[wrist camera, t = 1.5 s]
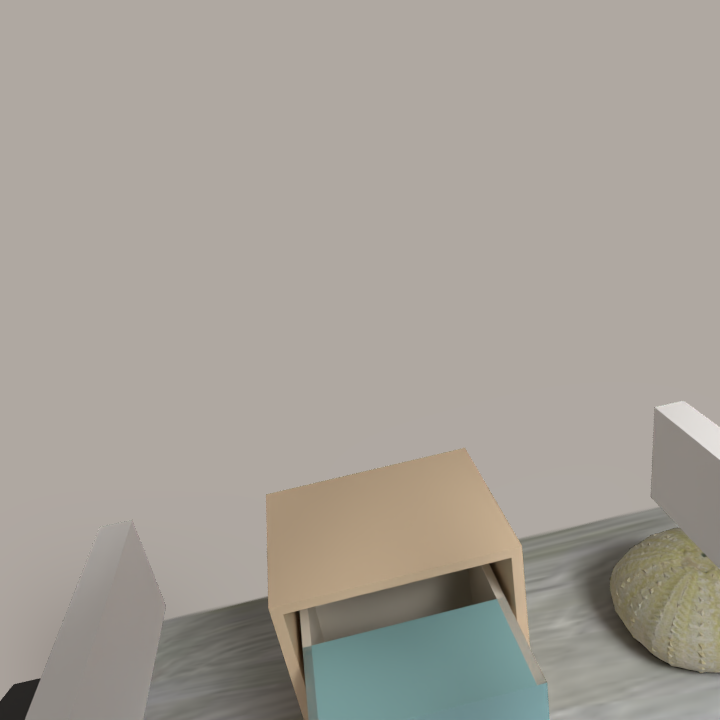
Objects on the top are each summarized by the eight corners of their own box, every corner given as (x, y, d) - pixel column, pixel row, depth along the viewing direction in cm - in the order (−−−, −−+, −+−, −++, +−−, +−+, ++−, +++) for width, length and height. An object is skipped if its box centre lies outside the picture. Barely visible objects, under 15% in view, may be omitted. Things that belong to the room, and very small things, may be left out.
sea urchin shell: (570, 564, 40) (656, 471, 38) (649, 606, 42) (733, 522, 40) (654, 689, 31) (770, 579, 29) (746, 731, 34) (857, 633, 32)
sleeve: (537, 739, 32) (522, 546, 26) (328, 795, 31) (268, 608, 26) (485, 619, 39) (464, 447, 34) (315, 662, 38) (266, 494, 33)
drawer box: (555, 817, 28) (547, 682, 24) (352, 874, 27) (310, 744, 23) (482, 638, 37) (467, 520, 33) (328, 678, 36) (295, 562, 32)
